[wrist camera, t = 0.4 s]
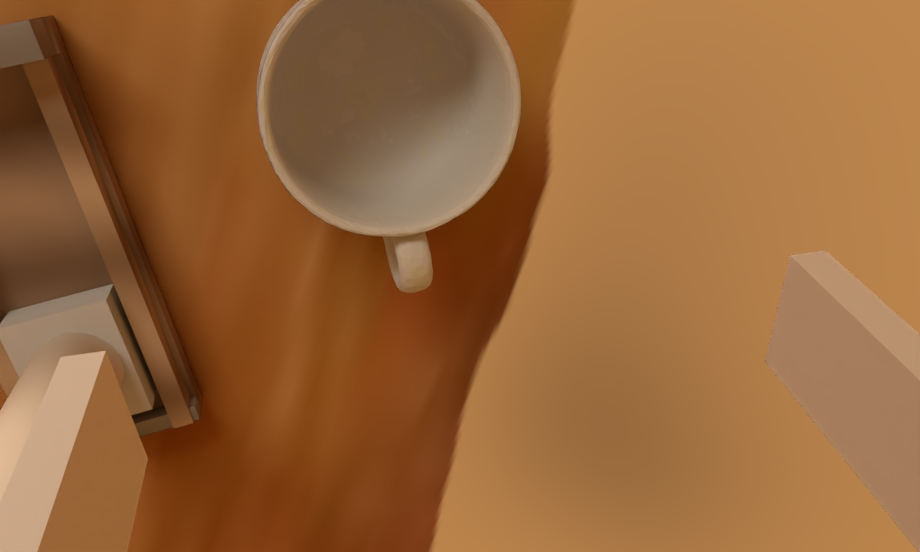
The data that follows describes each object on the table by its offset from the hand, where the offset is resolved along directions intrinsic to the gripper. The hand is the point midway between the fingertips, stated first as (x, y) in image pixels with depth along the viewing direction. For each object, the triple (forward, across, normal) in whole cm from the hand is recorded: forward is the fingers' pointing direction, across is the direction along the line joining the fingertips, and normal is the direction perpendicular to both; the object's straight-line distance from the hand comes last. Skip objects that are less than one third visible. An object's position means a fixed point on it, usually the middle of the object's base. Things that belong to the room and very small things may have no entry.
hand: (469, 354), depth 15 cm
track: (+23, -16, -9) cm, 29 cm away
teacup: (+25, -1, -5) cm, 26 cm away
